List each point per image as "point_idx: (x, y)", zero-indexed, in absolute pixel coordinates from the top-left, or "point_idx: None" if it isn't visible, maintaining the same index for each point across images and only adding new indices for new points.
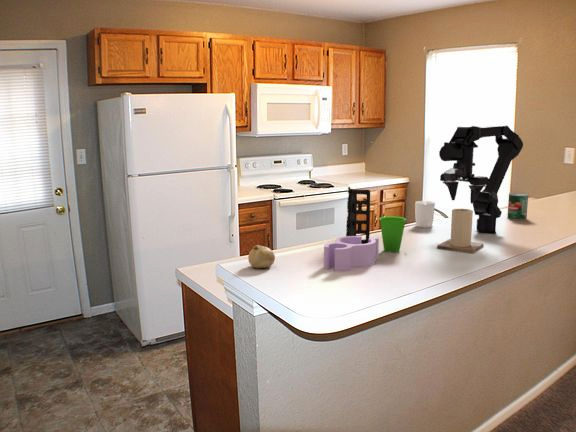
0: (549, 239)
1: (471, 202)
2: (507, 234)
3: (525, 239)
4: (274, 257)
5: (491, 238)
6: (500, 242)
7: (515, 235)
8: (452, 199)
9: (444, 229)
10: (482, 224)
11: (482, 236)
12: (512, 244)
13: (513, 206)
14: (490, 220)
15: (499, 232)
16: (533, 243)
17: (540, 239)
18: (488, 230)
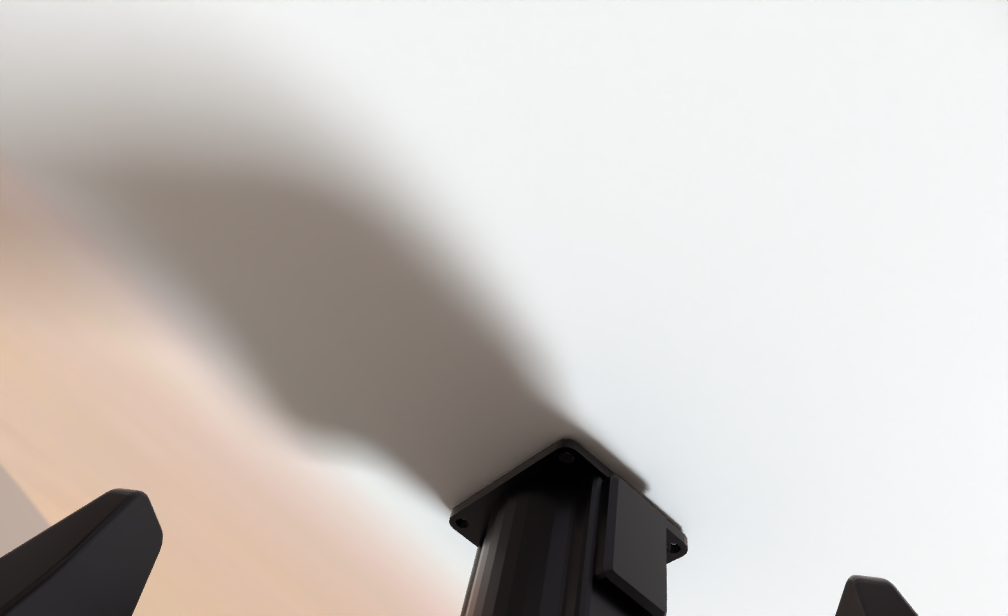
0: None
1: (91, 502)
2: (384, 547)
3: (176, 499)
4: None
5: (300, 329)
6: (119, 256)
7: (326, 557)
8: (861, 593)
9: (994, 289)
10: (548, 538)
11: (414, 333)
12: (22, 278)
13: None
14: (470, 610)
15: None
16: (35, 433)
17: None
18: (499, 506)
